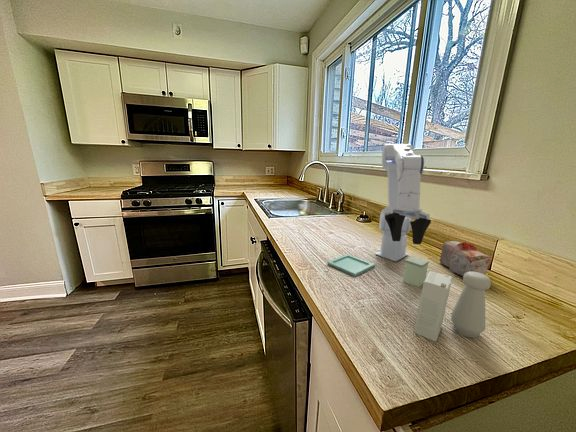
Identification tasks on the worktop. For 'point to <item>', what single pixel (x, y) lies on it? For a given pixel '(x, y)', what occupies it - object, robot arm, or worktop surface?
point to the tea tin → (415, 271)
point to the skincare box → (432, 305)
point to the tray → (351, 265)
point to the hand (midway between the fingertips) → (406, 242)
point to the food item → (463, 258)
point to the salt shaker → (471, 305)
